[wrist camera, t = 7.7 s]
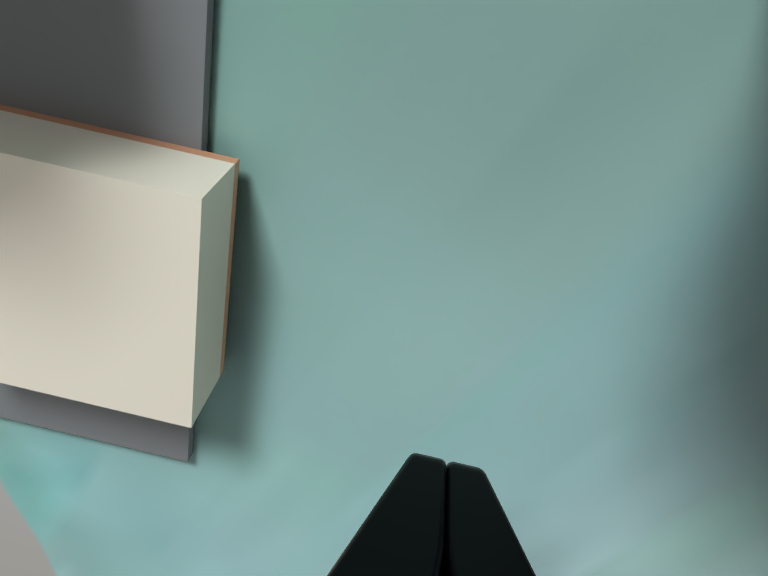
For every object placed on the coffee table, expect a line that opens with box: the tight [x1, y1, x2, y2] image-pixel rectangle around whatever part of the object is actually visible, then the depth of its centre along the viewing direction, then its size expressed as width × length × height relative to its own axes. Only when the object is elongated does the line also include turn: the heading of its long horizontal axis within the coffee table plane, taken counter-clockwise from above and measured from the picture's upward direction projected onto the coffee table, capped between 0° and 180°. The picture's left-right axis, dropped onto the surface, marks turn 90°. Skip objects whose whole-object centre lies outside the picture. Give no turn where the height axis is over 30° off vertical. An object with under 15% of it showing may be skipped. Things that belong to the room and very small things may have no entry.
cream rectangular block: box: [0, 104, 239, 428], centre depth 20 cm, size 3×8×9 cm
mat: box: [0, 0, 214, 462], centre depth 22 cm, size 10×18×1 cm, turn 169°
